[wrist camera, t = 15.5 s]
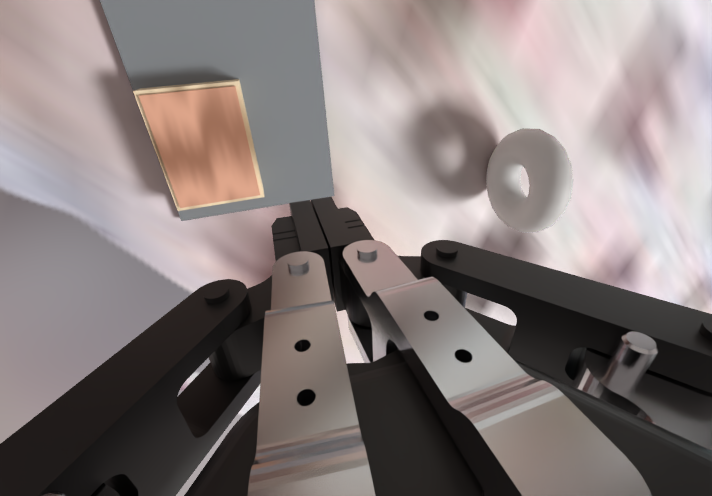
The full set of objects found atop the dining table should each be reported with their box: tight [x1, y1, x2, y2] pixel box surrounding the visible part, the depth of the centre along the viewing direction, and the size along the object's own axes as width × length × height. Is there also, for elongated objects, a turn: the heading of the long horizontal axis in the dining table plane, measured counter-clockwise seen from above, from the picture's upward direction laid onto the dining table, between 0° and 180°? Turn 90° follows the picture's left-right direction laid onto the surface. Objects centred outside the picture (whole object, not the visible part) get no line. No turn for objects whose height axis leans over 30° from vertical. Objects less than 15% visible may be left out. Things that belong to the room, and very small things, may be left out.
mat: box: [100, 0, 334, 221], centre depth 27 cm, size 18×14×1 cm
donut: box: [486, 128, 573, 232], centre depth 33 cm, size 10×4×10 cm, turn 4°
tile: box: [133, 79, 264, 211], centre depth 27 cm, size 9×2×7 cm
